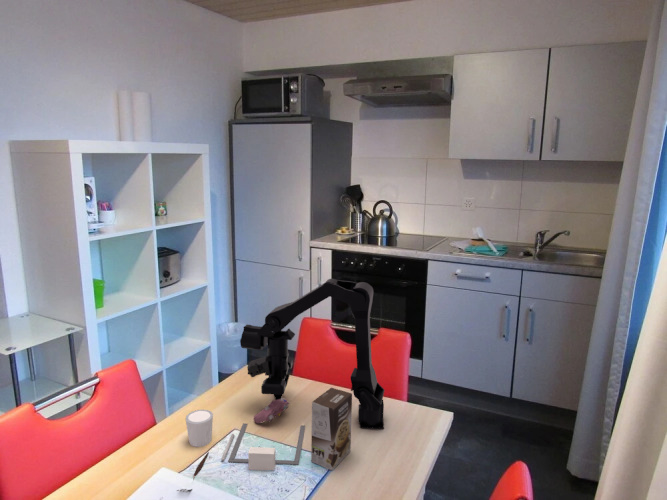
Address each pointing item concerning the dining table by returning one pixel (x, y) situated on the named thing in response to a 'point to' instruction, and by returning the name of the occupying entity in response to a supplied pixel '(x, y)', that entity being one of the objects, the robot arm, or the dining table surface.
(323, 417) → the coffee box
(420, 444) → the dining table surface
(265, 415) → the toy car
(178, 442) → the dining table surface
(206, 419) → the grey round cup
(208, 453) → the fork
